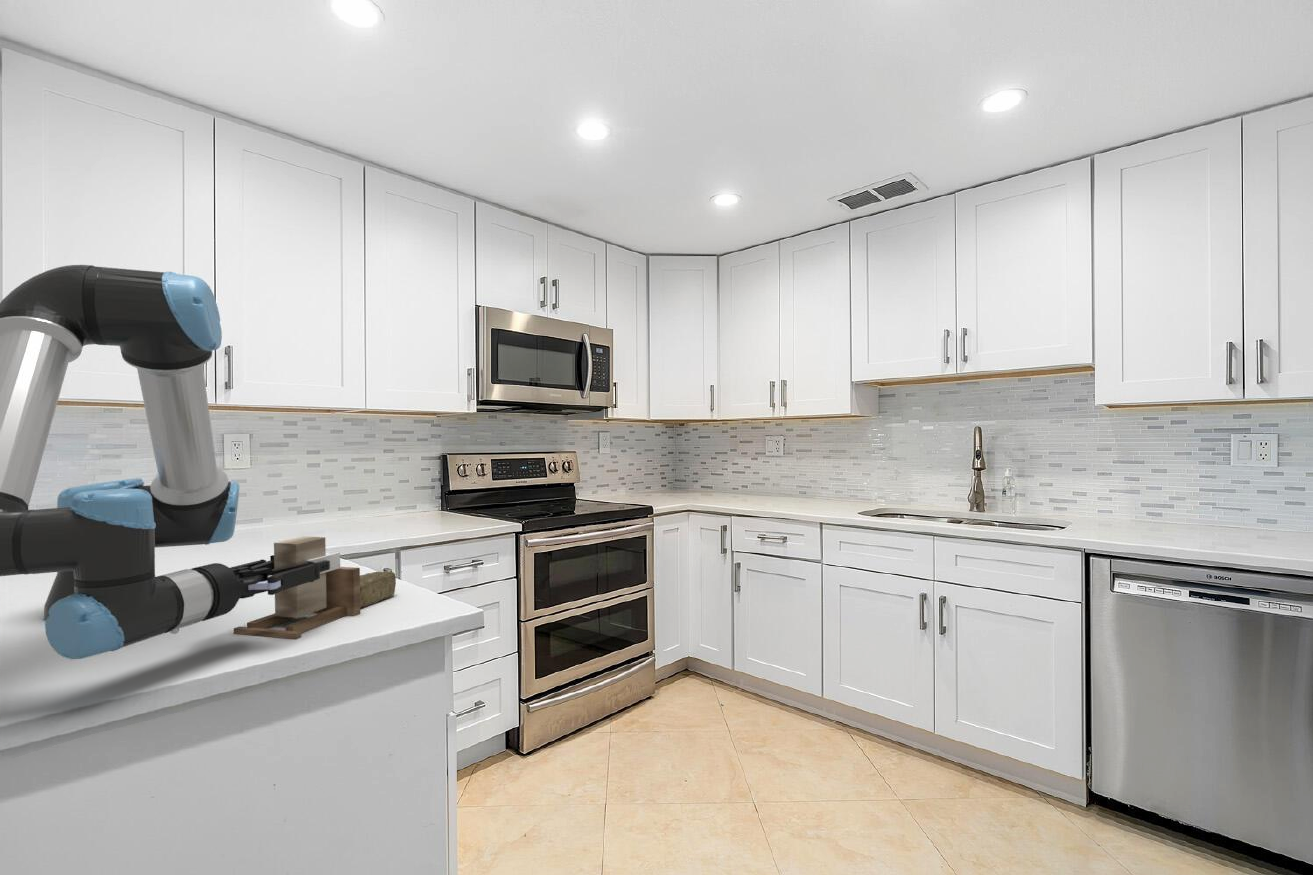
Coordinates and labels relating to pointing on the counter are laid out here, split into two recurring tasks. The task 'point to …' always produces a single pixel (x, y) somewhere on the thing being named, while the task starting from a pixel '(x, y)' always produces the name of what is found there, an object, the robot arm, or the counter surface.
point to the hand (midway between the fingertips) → (325, 559)
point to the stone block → (376, 587)
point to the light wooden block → (304, 595)
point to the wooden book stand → (339, 604)
